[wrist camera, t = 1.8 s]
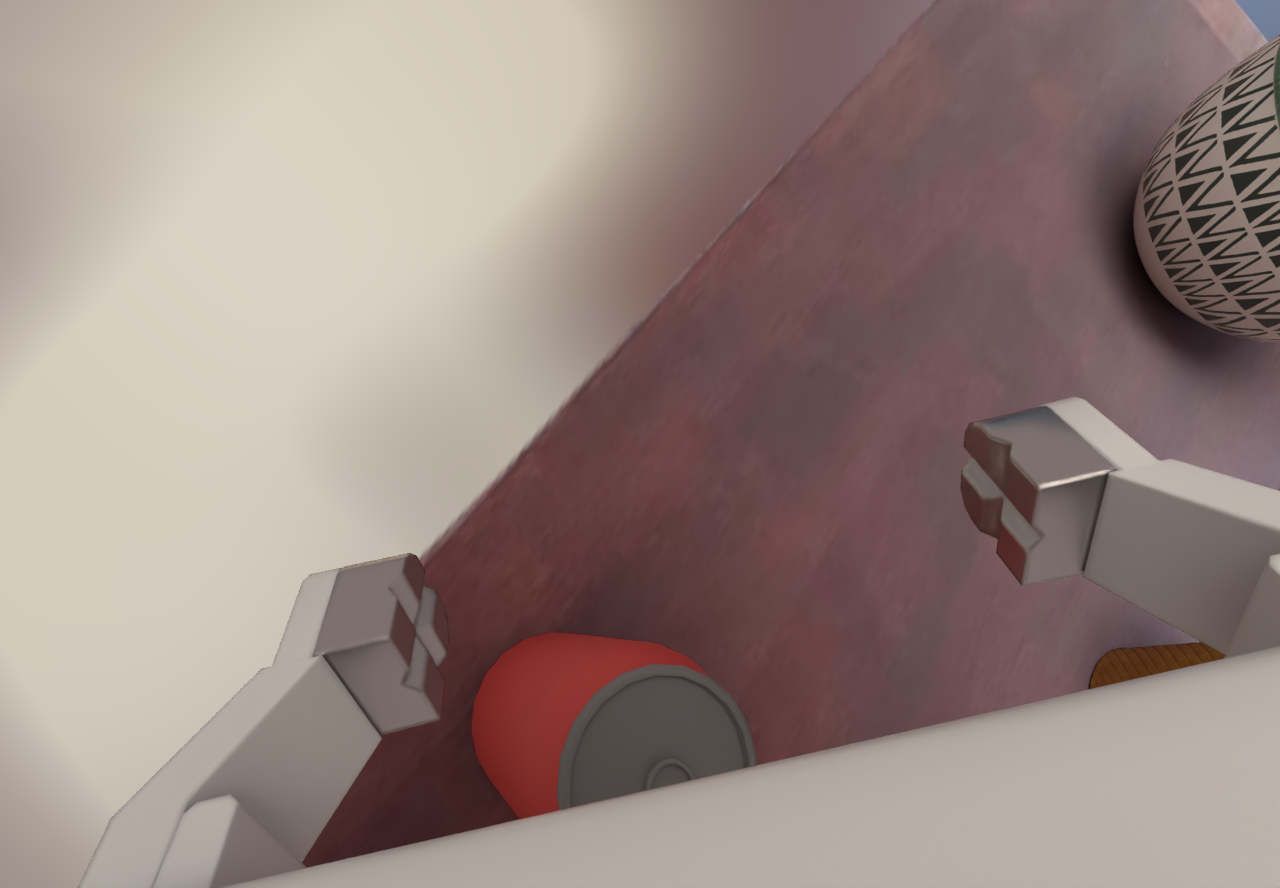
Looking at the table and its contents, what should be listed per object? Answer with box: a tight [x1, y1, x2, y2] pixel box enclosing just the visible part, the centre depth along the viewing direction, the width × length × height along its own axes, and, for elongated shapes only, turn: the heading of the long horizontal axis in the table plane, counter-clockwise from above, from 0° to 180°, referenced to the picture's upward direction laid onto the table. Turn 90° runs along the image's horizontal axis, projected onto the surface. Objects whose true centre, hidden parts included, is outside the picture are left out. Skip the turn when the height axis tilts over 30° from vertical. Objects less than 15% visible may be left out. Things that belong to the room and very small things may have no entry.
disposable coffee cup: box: [1090, 642, 1225, 689], centre depth 35 cm, size 10×10×12 cm
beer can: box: [471, 632, 757, 819], centre depth 24 cm, size 7×7×12 cm
